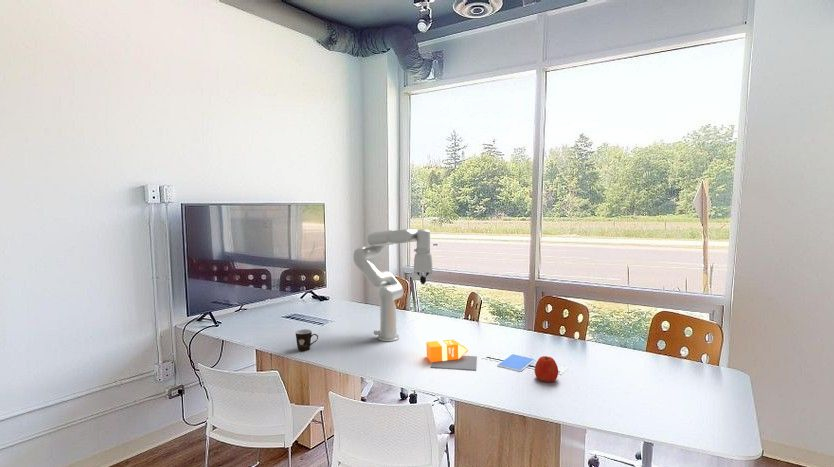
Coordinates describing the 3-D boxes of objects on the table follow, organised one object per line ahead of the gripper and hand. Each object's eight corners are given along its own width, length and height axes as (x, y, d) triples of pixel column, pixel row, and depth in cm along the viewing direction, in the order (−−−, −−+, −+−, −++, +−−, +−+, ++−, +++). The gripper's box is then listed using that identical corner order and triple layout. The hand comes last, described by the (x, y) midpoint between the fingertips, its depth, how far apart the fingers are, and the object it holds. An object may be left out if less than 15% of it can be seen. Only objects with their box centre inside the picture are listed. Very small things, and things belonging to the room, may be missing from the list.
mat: (430, 367, 198) (430, 366, 198) (434, 354, 216) (434, 354, 216) (476, 370, 195) (476, 369, 195) (476, 357, 213) (476, 356, 213)
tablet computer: (512, 355, 216) (512, 353, 216) (535, 361, 209) (535, 358, 209) (496, 367, 200) (496, 364, 200) (520, 373, 193) (521, 370, 193)
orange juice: (430, 347, 204) (468, 343, 208) (426, 341, 213) (462, 338, 217) (430, 362, 205) (468, 358, 209) (426, 356, 213) (463, 352, 217)
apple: (553, 374, 190) (553, 352, 190) (561, 383, 180) (562, 360, 179) (531, 374, 190) (531, 352, 189) (538, 384, 180) (539, 361, 179)
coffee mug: (292, 350, 222) (291, 332, 222) (303, 346, 230) (303, 328, 229) (308, 354, 217) (308, 335, 216) (319, 349, 224) (319, 331, 224)
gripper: (408, 251, 226) (408, 284, 227) (435, 252, 224) (435, 285, 225) (411, 250, 234) (411, 282, 235) (437, 251, 231) (437, 283, 232)
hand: (423, 283), depth 230 cm, fingers closed
